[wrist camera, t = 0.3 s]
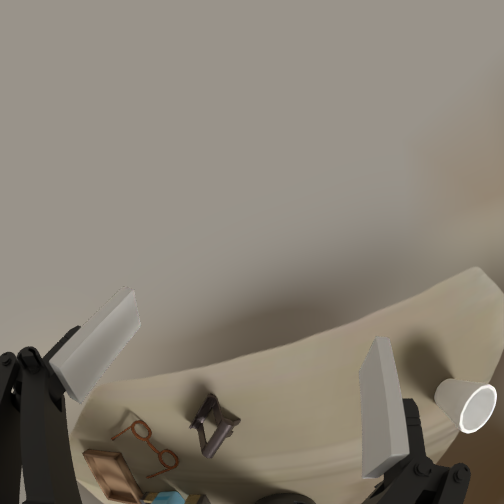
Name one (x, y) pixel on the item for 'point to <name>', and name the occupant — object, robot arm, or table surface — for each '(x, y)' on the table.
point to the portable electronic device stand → (221, 432)
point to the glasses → (151, 447)
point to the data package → (168, 498)
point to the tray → (113, 476)
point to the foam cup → (466, 402)
